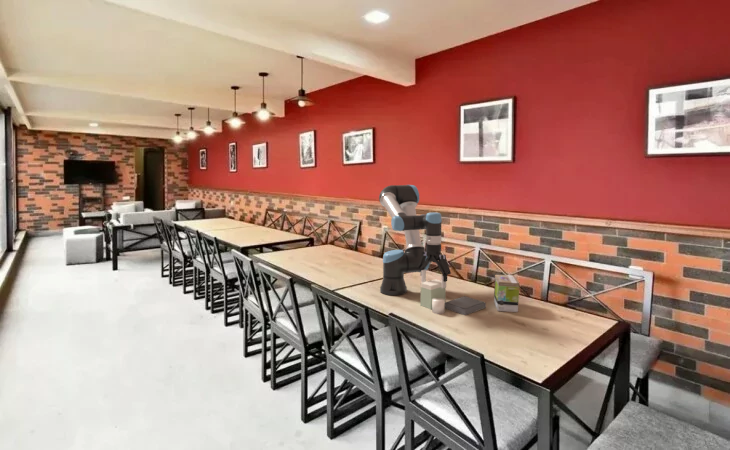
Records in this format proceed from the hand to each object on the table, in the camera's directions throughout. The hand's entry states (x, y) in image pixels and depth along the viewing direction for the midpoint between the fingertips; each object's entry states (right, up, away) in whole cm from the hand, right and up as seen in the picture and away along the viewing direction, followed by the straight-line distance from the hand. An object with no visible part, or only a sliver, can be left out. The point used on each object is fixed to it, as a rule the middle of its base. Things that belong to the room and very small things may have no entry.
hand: (433, 284), depth 201 cm
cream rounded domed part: (+1, -12, -7) cm, 14 cm away
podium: (+15, -11, -3) cm, 19 cm away
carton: (0, -11, +2) cm, 11 cm away
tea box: (+36, -11, -2) cm, 38 cm away
